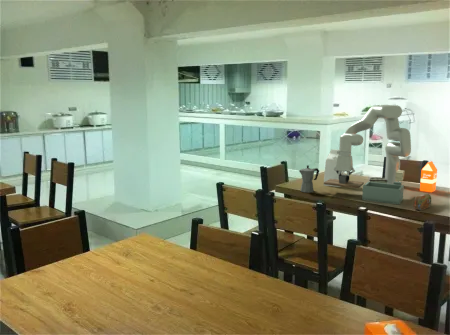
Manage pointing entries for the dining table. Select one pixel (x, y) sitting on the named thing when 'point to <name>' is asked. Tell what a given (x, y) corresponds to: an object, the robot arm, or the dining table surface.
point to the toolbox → (383, 192)
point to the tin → (422, 202)
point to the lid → (343, 182)
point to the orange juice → (428, 178)
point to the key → (399, 175)
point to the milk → (331, 167)
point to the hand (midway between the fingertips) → (343, 180)
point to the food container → (378, 180)
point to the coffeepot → (308, 179)
